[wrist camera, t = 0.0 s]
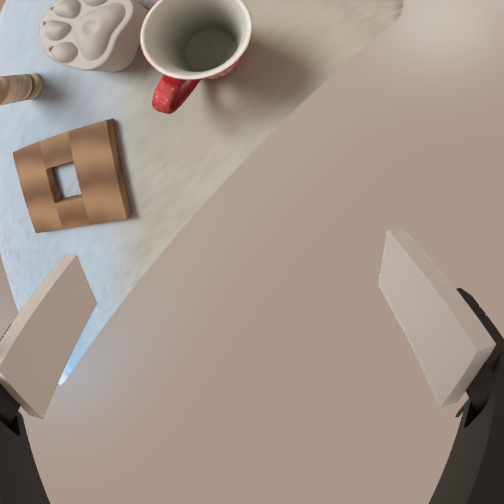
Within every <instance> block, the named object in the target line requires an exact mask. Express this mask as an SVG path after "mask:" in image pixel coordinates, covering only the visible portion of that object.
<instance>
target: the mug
mask: <svg viewBox="0 0 504 504" xmlns="http://www.w3.org/2000/svg"><path fill="white" fill-rule="evenodd" d="M251 35H252V19H251V15H250V13H249V11H248V9H247V7H246V6H245V4H244V3H243V2H242V1H241V0H159V1H158V2H156V4H155V5H154V6H153V7H152V8H151V9H150V10H149V12H148V13H147V15H146V17H145V19H144V21H143V24H142V27H141V32H140V45H141V49H142V51H143V54H144V56H145V58H146V59H147V61H148V62H149V63H150V64H151V65H152V66H153V67H154V68H155V69H156V70H158V71H159V72H161V73H163V74H164V75H163V76H162V78H161V80H160V82H159V84H158V86H157V88H156V90H155V93H154V96H153V101H152V105H153V108H154V109H155V110H157V111H159V112H163V113H167V114H171V113H173V112H174V111H176V110H177V109H178V108H179V107H180V106H181V105H182V103H183V102H184V101H185V100H186V99H187V97H188V96H189V95H190V94H191V92H192V91H193V90H194V88H195V87H196V86H197V84H198V83H199V82H200V80H202V79H217V78H221V77H223V76H226V75H227V74H229V73H230V72H232V71H233V70H234V69H235V68H236V66H237V65H238V63H239V62H240V60H241V57H242V55H243V54H244V52H245V50H246V49H247V47H248V45H249V42H250V39H251Z"/></svg>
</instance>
